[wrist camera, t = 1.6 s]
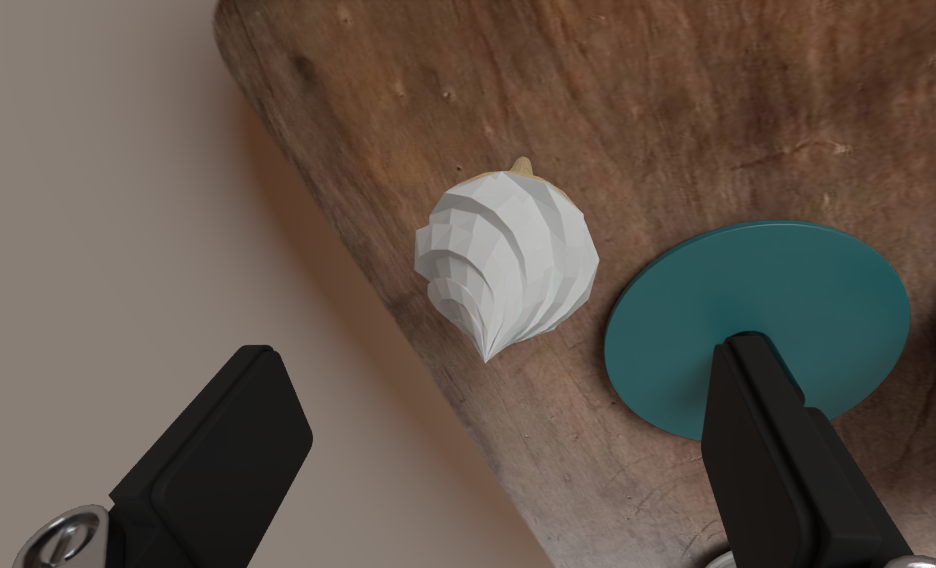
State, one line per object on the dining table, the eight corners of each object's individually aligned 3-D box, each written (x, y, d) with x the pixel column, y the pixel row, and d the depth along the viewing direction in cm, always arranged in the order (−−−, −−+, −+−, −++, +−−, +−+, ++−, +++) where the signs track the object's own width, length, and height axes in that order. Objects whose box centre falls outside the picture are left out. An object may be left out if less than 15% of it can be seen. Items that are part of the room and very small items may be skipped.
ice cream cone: (482, 223, 26) (411, 455, 13) (451, 116, 23) (325, 277, 10) (590, 201, 24) (629, 439, 11) (570, 84, 21) (591, 227, 9)
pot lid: (602, 224, 25) (612, 275, 20) (940, 203, 22) (1036, 257, 17) (602, 427, 32) (609, 496, 28) (855, 432, 29) (907, 510, 25)
